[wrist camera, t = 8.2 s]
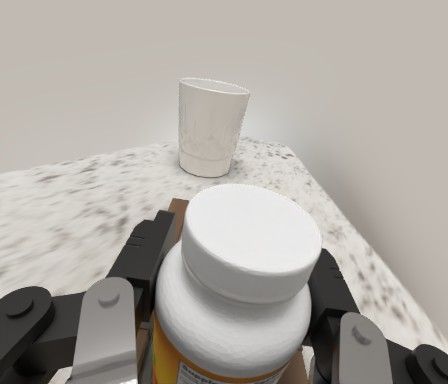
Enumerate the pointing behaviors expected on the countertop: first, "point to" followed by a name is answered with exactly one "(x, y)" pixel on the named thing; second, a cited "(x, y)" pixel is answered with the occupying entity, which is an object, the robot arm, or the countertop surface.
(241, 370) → the supplement bottle
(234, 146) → the white cup
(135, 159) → the countertop surface
